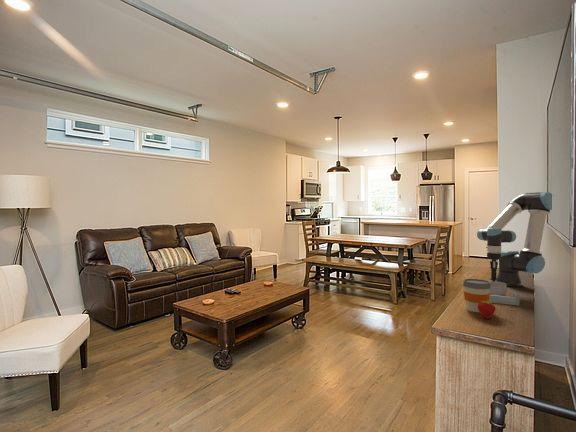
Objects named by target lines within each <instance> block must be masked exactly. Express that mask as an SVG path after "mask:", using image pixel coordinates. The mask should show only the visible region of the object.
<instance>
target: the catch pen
mask: <svg viewBox="0 0 576 432" xmlns="http://www.w3.org/2000/svg"><path fill="white" fill-rule="evenodd" d="M489 302H491V303H493V304H494V303H495V304H502V305H511V306H520V295H519V294H517V292H516V291H513V295H512V296H509V295H504V296H498V295H490V297H489Z"/></svg>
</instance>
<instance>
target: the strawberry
mask: <svg viewBox="0 0 576 432" xmlns="http://www.w3.org/2000/svg"><path fill="white" fill-rule="evenodd" d="M487 299H488V298H487ZM480 302H483V303H479V304H478V306H477V307H478V310H479V312H480V314H481V316H482V317H483V318H484V319H485V320H487V319H488V320H489V319H490V317H492V316H493V315H494V314H495V312H496V305H494V303H492V302H489V301H487V302H485V301H480ZM479 312H478V313H479Z"/></svg>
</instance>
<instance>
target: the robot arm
mask: <svg viewBox="0 0 576 432" xmlns="http://www.w3.org/2000/svg"><path fill="white" fill-rule="evenodd" d="M552 194H553V193H551V192H549V191H539V192H525V193H521V194H519V195H517V196H516V197H514V198H512V199H511V200H510V201H509V202H508V203H507V205H506V207H505V208H504V209H503V210H502V212H500V213H499V215H498V216H496V217H495V218H494V220H492V222H490V223H489V224H488V226H486V227H485V228H481V229H479V230H478V231H477V232H476V236H477V238H478V240H479V241H483V242H486V241H487V244H486V247H485V248H486V251H487V252H486V258H487V259H489V260H491V261H489V263H490V264H489V265H490V271H491V272H490V278H489V281H496V282H503V283H506V284H507V285H506V287H515V286H516V287H522V286H521V285H523V282H522V280H521V277H520V272H521V273H522V272H524V273H529V274H539V273H541V272H542V271H543V270H544V268H545V265H546V261H545V257H543V254H542V252H541V246H542V242H543V241H542V240H543V236H544V229H545V223H546V218H547V215H549V214H550V211H552ZM523 211H527V212H528V213H529V217H528V218H529V219H528V224H527V229H526V235H525V240H524V245H523V248H522V249H521V250H520V251H519V250H509V251H508V250H507V251H502V243H505V244H506V243H513V242H515V241H516V239H517V234H516V232H514V230H508V229H507V230H503V229H504V228H505V227H506V225H507V226H508V224H509V223H510V221H512V220H513V218H515V217H516V216H517V215H518V214H521V213H522V212H523ZM497 260H498V261H497ZM497 270H498V273H497Z"/></svg>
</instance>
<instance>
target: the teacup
mask: <svg viewBox="0 0 576 432" xmlns="http://www.w3.org/2000/svg"><path fill="white" fill-rule="evenodd" d="M488 281H489V282H490V286H491V288H490V291H489V293H490V295H498V296H507V295H506V294H507V286H506V285H507V284H506V283H503V282H496V281H491V280H488Z"/></svg>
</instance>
